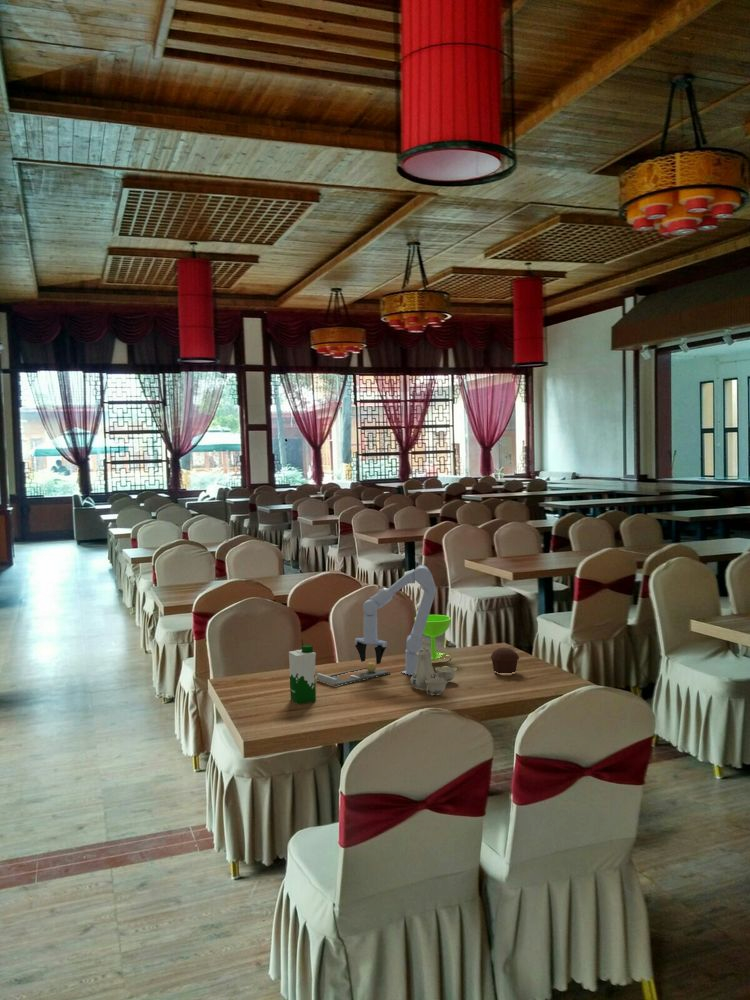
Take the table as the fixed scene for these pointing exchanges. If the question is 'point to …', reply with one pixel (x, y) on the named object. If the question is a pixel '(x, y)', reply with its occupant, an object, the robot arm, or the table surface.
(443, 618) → the wineglass
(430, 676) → the chinaware
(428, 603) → the robot arm
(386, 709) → the table surface
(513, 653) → the muffin
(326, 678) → the lane mat
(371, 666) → the ball
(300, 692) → the milk carton
